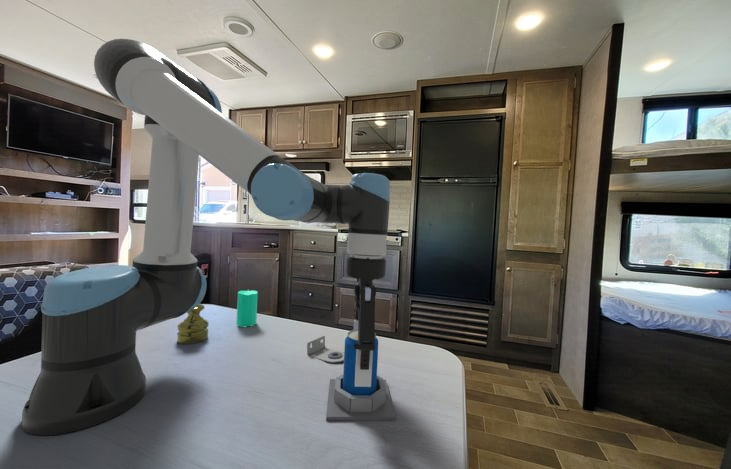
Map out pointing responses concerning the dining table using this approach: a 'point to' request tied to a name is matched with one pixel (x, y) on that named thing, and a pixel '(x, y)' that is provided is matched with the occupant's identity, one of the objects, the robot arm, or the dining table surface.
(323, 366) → the dining table surface
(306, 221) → the robot arm
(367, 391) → the beverage can
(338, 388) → the cup holder
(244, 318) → the candle
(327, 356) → the bracket
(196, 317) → the yellow knotted piece
